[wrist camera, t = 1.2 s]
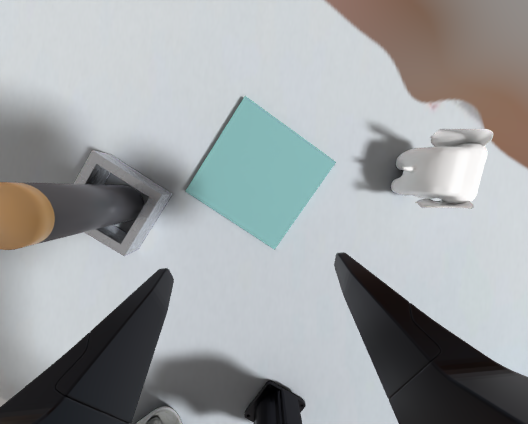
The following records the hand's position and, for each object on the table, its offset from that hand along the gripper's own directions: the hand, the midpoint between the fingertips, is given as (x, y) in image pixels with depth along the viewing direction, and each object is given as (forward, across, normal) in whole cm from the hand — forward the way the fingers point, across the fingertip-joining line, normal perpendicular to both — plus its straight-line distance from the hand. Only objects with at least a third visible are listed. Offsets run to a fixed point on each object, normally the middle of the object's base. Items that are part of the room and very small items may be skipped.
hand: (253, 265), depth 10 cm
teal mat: (+15, -1, +1) cm, 15 cm away
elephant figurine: (+14, -20, +3) cm, 25 cm away
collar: (+14, +16, +3) cm, 21 cm away
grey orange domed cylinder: (+14, +16, +3) cm, 21 cm away
